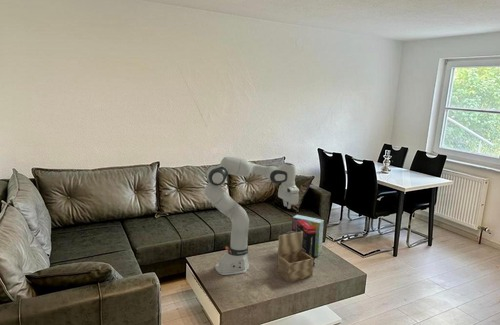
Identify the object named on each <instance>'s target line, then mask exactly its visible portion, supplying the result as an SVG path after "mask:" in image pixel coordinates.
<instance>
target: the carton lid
mask: <svg viewBox="0 0 500 325" xmlns="http://www.w3.org/2000/svg"><path fill="white" fill-rule="evenodd" d="M302 238H303V232H296V233H295V232H294V231H292V230H291V231H286V232H285V231H284V232H282V233H281V234H280V235H278V244H277V246H278V247H277V256H278V255H281V254H286V253H291V252H296V251H300V250H302Z"/></svg>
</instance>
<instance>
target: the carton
mask: <svg viewBox="0 0 500 325" xmlns="http://www.w3.org/2000/svg"><path fill="white" fill-rule="evenodd" d="M277 258H278V259H277V273H278V274H279V275H280V276H281V277H282V278H284V280H285V281H286V282H288V283H290V282H295V281H299V280H302V279H306V278H310V277H313V273H314V266H313V261H314V262H315V258H314V259H313V258H312V257H311V256H309V255H308V254H306V253H305V252H304V251H302V250H301V251H295V252H290V253H285V254H281V255H278V254H277Z"/></svg>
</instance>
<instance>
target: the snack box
mask: <svg viewBox="0 0 500 325" xmlns="http://www.w3.org/2000/svg"><path fill="white" fill-rule="evenodd" d="M297 220H305V221H306V222H308V223H309V224H310V225H311V226H313V227H314V228H315V229H316V239H315V256H314V257H316V258H318V257H319V256H320V255H321V254H322V253H323V252H322V251H323V238H324V235H323V234H324V222H325V221H324V219H320V218H316V217H315V218H314V217H310V216H306V215H300V214H296V215H294V216H292V219H291V231H294V232H295V233H296V232H297Z"/></svg>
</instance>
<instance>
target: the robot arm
mask: <svg viewBox="0 0 500 325" xmlns="http://www.w3.org/2000/svg"><path fill="white" fill-rule="evenodd" d="M296 170H297V169H296V166H295V164H294V163H290V162H283V163H282V164H281V165H279V166H277V165H275V164H268V165H261V164H257V163H254V162H251V161H249V160H247V159H244V158H239V157H234V156H224V157H223V158H222V159H221V161H220V163H219V165H215V164H213V165H210V166H209V167H207V168H206V171H205V177H206V181H207V183H208V184H207V185H206V186H205V187H204V189H203V192H204V195H205V197H206V198H207V200H209V202H210V203H211V204H212V205H213V206H214V207H215V208H216V209H217V210H218V211H219V212H220V213H221V214H223V215H225V216H226V217H227V218H228V219H229V220H230V221H231V230H230V231H231V233H230V246H225V250H226V251H227V252H226V253H224V255H222V256H220V258H219V260H218V263H216V264H215V266H214V269H215V271H216V272H217V273H218V274H220V275H222V276H229V275H237V274H246V273H247V271H248V270H249V269H250V264H249V260H248V259H249V258H248V254H249V252H248V251H249V246H248V241H249V240H248V237H249V229H250V218H249V216H248V213H247V211H246V210H245V209H244V208H243V207H242V206H241V205H240V204H239V203H238V202H237V201H235V199H233V198H232V196H230V195H229V193H227V192H226V191H225V190H224V189H223V187H222V186H221V185H223V184H224V183H225V181H226V180H227V177H228V176H229V175H232V176H237V177H248V176H249V175H250V174H255V175H261V176H264V177H266V178H267V179H268V180H269V181H270V182H272V183H273V184H280V185H279V187H278V192H277V197H278V198H280V199H282V203H283V206H284V207H286V208H287V209H289V210H290V209H291V208H292V205H293V206H294V205H295V206H296V205H298V204H299V201H300V200H299V199H300V194H299V193H300V189H299V188H298V187H297V185H296V181H295V180H296V175H297V174H296V172H297V171H296Z"/></svg>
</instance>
